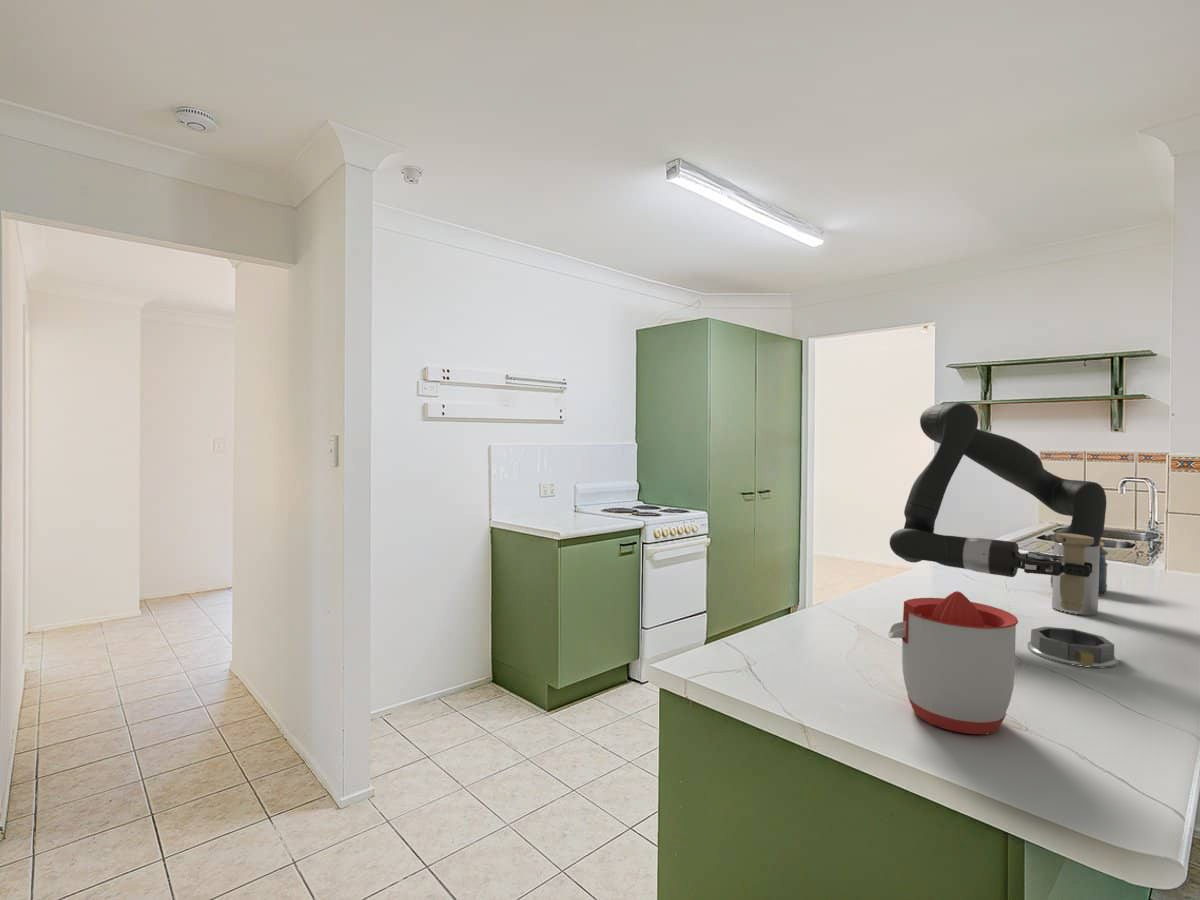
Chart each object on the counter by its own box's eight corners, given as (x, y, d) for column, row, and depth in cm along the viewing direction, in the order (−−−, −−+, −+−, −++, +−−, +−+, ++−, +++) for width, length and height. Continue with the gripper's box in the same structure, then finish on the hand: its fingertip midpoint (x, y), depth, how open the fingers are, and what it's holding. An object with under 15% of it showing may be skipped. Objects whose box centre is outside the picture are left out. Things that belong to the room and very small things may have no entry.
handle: (1076, 614, 120) (1079, 538, 119) (1046, 605, 126) (1049, 533, 126) (1096, 613, 121) (1100, 538, 120) (1065, 604, 127) (1069, 532, 127)
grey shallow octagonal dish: (1017, 638, 133) (1017, 622, 133) (1096, 646, 128) (1097, 629, 128) (1042, 662, 119) (1043, 644, 119) (1132, 672, 114) (1133, 653, 114)
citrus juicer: (884, 689, 106) (887, 574, 105) (1002, 707, 99) (1005, 585, 99) (889, 728, 91) (892, 596, 91) (1027, 753, 85) (1031, 610, 84)
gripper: (983, 543, 128) (1088, 556, 116) (998, 535, 138) (1095, 547, 126) (982, 578, 128) (1086, 595, 116) (996, 568, 138) (1093, 582, 126)
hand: (1090, 570), depth 121 cm, fingers closed on handle, 3 cm apart
